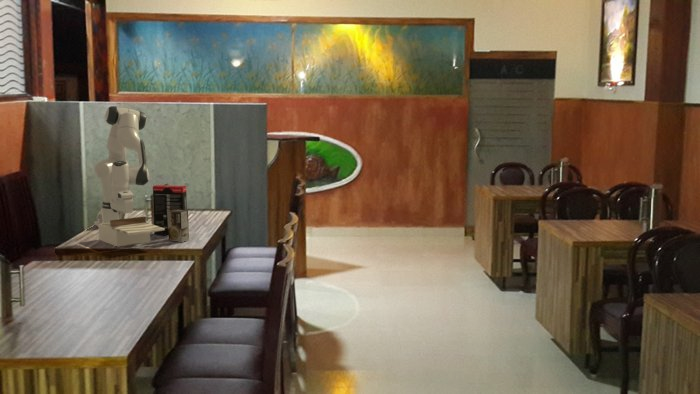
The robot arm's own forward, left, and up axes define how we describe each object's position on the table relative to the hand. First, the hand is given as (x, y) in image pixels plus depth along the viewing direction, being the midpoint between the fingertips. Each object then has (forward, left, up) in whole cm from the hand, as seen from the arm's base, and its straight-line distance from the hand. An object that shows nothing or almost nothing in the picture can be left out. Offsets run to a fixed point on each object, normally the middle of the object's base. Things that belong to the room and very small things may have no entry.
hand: (121, 219), depth 381 cm
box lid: (+17, 0, -3) cm, 17 cm away
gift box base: (+1, 0, -12) cm, 12 cm away
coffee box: (+16, +23, -12) cm, 31 cm away
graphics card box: (0, +27, -12) cm, 30 cm away
